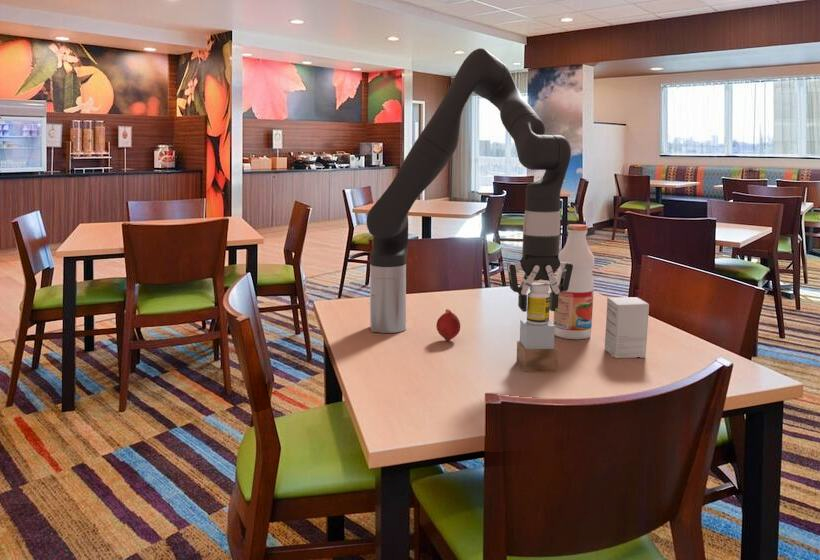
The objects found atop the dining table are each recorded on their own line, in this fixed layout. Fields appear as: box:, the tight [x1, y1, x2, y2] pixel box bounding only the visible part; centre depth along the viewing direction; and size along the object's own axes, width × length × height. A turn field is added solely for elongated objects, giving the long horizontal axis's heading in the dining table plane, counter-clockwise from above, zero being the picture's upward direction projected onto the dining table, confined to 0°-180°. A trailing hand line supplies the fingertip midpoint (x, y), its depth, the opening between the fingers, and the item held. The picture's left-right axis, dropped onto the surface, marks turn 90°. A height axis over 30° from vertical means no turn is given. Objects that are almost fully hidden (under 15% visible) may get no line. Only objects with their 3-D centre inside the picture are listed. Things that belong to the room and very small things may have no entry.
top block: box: [519, 318, 556, 349], centre depth 144 cm, size 6×6×5 cm
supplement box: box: [604, 296, 650, 359], centre depth 153 cm, size 7×7×13 cm
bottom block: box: [516, 340, 559, 373], centre depth 145 cm, size 7×7×5 cm
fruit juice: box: [552, 223, 596, 340], centre depth 167 cm, size 9×9×28 cm
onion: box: [435, 308, 461, 342], centre depth 164 cm, size 6×6×8 cm
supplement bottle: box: [526, 282, 550, 325], centre depth 143 cm, size 5×5×8 cm
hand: (538, 310), depth 143 cm, fingers open, 5 cm apart
